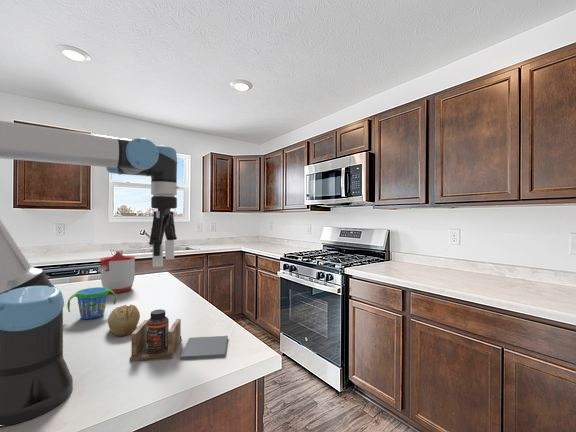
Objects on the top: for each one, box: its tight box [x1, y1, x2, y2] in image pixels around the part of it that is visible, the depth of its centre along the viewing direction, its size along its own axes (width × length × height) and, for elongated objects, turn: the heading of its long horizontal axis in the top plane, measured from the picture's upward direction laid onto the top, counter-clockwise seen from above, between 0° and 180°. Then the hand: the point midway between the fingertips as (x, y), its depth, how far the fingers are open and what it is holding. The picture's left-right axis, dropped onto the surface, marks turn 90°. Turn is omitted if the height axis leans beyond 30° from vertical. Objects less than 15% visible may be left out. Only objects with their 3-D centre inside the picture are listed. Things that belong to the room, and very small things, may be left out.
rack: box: [129, 318, 182, 362], centre depth 85 cm, size 12×11×7 cm
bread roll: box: [107, 304, 141, 337], centre depth 99 cm, size 10×15×8 cm, turn 33°
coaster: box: [179, 335, 228, 360], centre depth 86 cm, size 12×12×1 cm
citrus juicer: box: [97, 251, 136, 295], centre depth 146 cm, size 16×17×20 cm
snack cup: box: [66, 286, 117, 320], centre depth 111 cm, size 16×10×10 cm
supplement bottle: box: [145, 309, 170, 354], centre depth 85 cm, size 6×6×11 cm
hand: (164, 262), depth 91 cm, fingers open, 13 cm apart
